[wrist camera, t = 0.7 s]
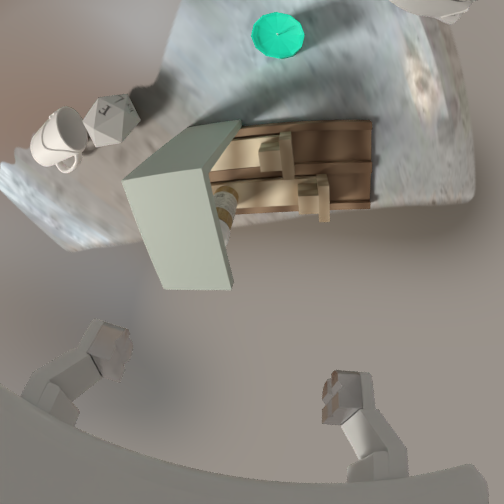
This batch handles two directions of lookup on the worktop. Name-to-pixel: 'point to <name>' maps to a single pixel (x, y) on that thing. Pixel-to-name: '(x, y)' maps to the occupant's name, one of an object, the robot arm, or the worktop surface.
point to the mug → (60, 139)
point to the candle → (278, 35)
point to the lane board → (317, 160)
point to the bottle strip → (284, 193)
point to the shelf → (183, 208)
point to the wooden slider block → (260, 154)
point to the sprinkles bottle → (226, 209)
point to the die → (111, 120)
